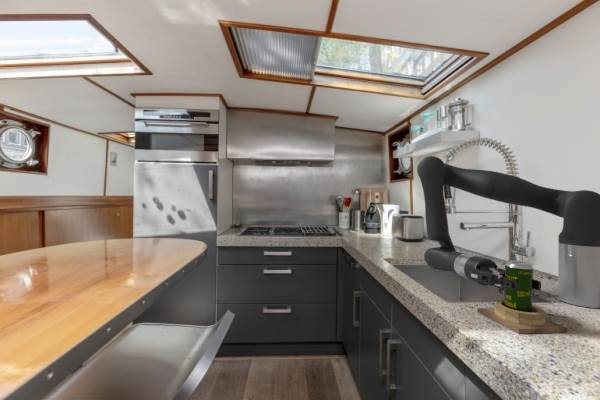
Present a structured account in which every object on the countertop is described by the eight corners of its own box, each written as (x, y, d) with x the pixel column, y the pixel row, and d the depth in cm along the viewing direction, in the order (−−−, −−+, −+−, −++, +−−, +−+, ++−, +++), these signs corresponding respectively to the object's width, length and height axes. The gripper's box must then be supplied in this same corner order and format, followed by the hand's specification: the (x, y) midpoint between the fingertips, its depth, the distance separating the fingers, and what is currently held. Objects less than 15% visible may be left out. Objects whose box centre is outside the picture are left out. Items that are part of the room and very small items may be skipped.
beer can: (518, 307, 70) (519, 260, 70) (538, 315, 65) (539, 265, 65) (498, 307, 69) (499, 260, 69) (517, 316, 64) (518, 265, 64)
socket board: (518, 311, 73) (518, 298, 73) (567, 331, 61) (567, 316, 62) (477, 312, 72) (477, 298, 72) (518, 333, 60) (519, 317, 60)
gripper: (452, 255, 80) (501, 270, 64) (497, 255, 82) (556, 270, 65) (452, 281, 80) (500, 302, 64) (496, 280, 82) (555, 301, 65)
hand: (528, 286), depth 64 cm, fingers closed on beer can, 5 cm apart
